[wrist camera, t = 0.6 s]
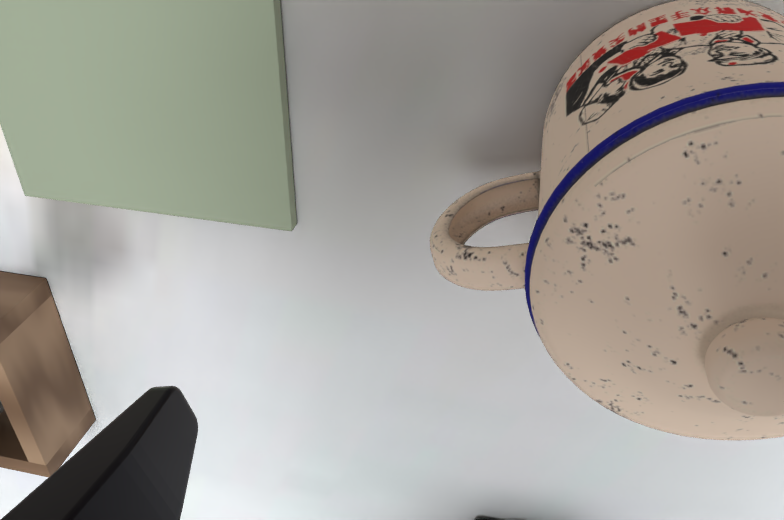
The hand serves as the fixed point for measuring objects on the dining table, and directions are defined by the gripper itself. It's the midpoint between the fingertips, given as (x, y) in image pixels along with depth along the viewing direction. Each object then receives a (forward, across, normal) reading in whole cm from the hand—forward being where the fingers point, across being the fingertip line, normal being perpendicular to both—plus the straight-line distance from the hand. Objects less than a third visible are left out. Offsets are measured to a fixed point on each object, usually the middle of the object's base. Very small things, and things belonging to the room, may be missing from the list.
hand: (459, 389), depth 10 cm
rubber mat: (+16, +12, -1) cm, 20 cm away
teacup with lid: (+14, -5, +4) cm, 15 cm away
